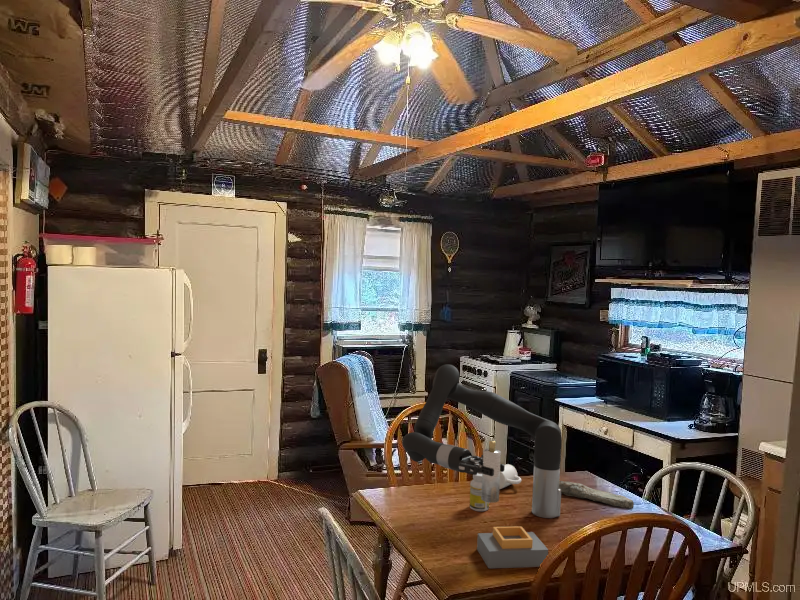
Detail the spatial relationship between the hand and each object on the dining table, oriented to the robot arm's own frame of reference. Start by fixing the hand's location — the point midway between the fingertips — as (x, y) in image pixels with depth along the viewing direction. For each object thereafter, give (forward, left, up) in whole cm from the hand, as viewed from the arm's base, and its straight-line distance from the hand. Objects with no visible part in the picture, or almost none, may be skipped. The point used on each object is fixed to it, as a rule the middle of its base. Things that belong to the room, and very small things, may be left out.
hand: (498, 470), depth 174 cm
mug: (-23, -56, -26) cm, 66 cm away
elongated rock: (-52, -45, -26) cm, 74 cm away
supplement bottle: (-5, -35, -26) cm, 44 cm away
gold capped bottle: (+2, -2, -10) cm, 10 cm away
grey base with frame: (-4, +3, -26) cm, 26 cm away
